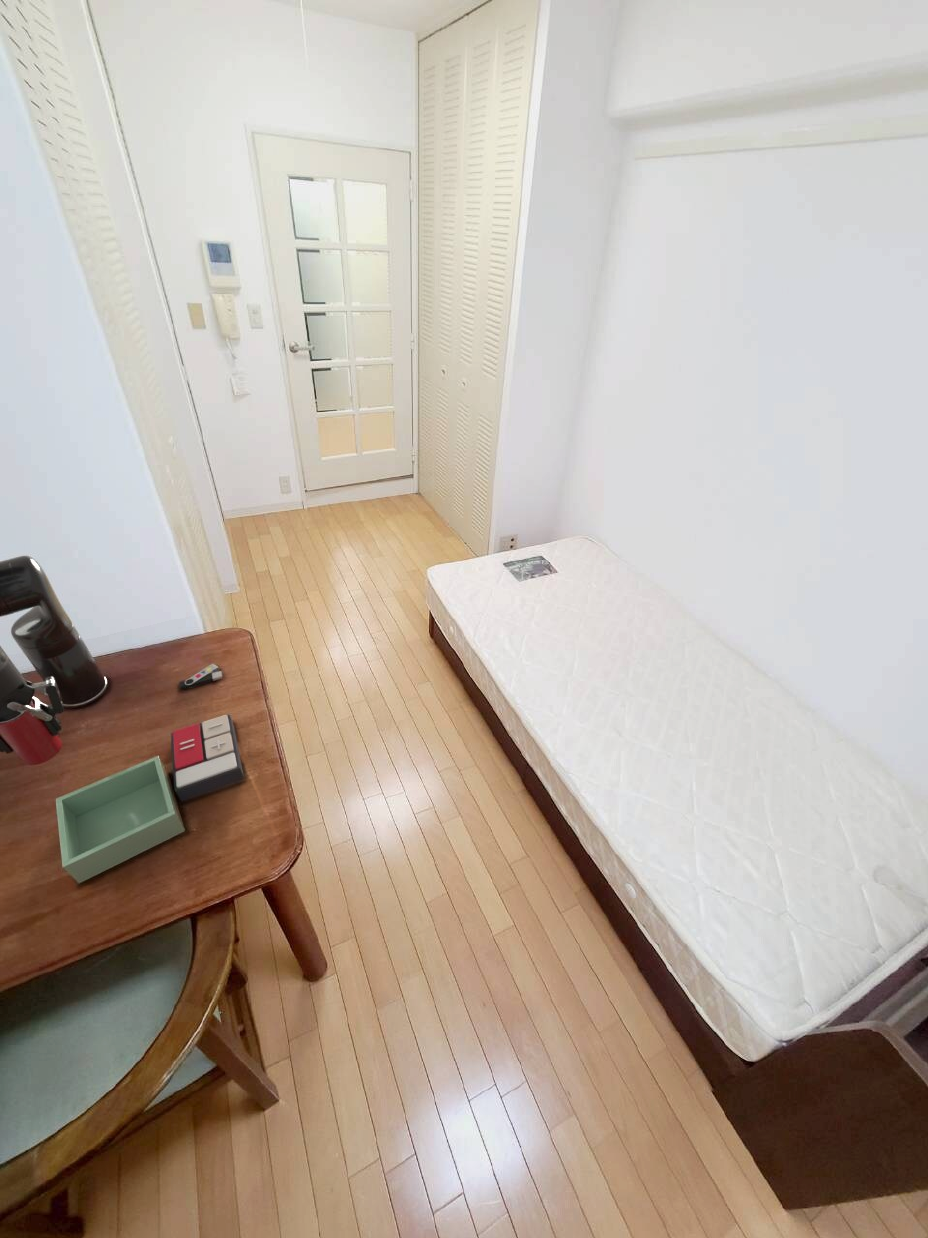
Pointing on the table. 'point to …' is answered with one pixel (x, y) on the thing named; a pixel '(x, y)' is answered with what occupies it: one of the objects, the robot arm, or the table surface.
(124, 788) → the open box
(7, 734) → the can
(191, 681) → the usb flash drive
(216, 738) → the calculator
